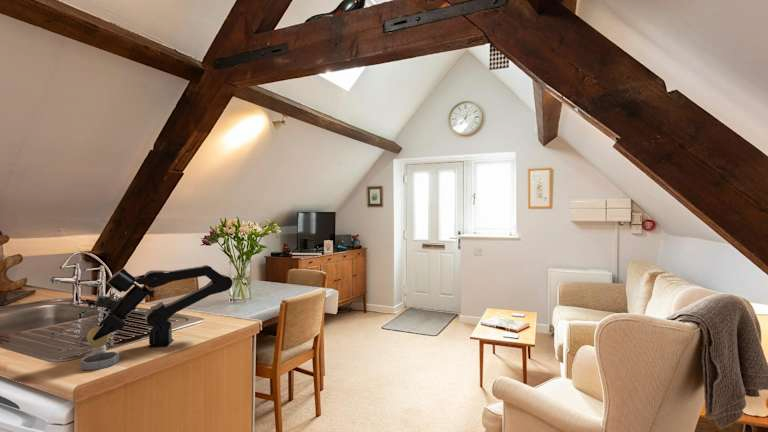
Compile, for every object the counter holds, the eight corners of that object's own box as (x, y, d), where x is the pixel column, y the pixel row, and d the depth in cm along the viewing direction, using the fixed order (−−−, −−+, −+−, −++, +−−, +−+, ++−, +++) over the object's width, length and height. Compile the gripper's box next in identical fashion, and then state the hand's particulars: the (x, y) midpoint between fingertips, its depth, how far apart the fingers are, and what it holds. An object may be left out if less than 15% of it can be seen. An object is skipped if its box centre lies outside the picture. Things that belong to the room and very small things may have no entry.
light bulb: (115, 351, 134) (114, 323, 134) (102, 358, 128) (101, 329, 128) (96, 352, 134) (95, 324, 134) (82, 359, 128) (82, 329, 128)
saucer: (123, 357, 129) (123, 350, 129) (109, 368, 120) (109, 361, 120) (91, 360, 127) (91, 353, 127) (74, 371, 118) (74, 364, 118)
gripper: (111, 283, 141) (73, 318, 134) (111, 290, 126) (69, 330, 119) (136, 300, 145) (102, 335, 139) (140, 310, 130) (101, 349, 124)
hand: (93, 337), depth 130 cm, fingers closed on light bulb, 6 cm apart
